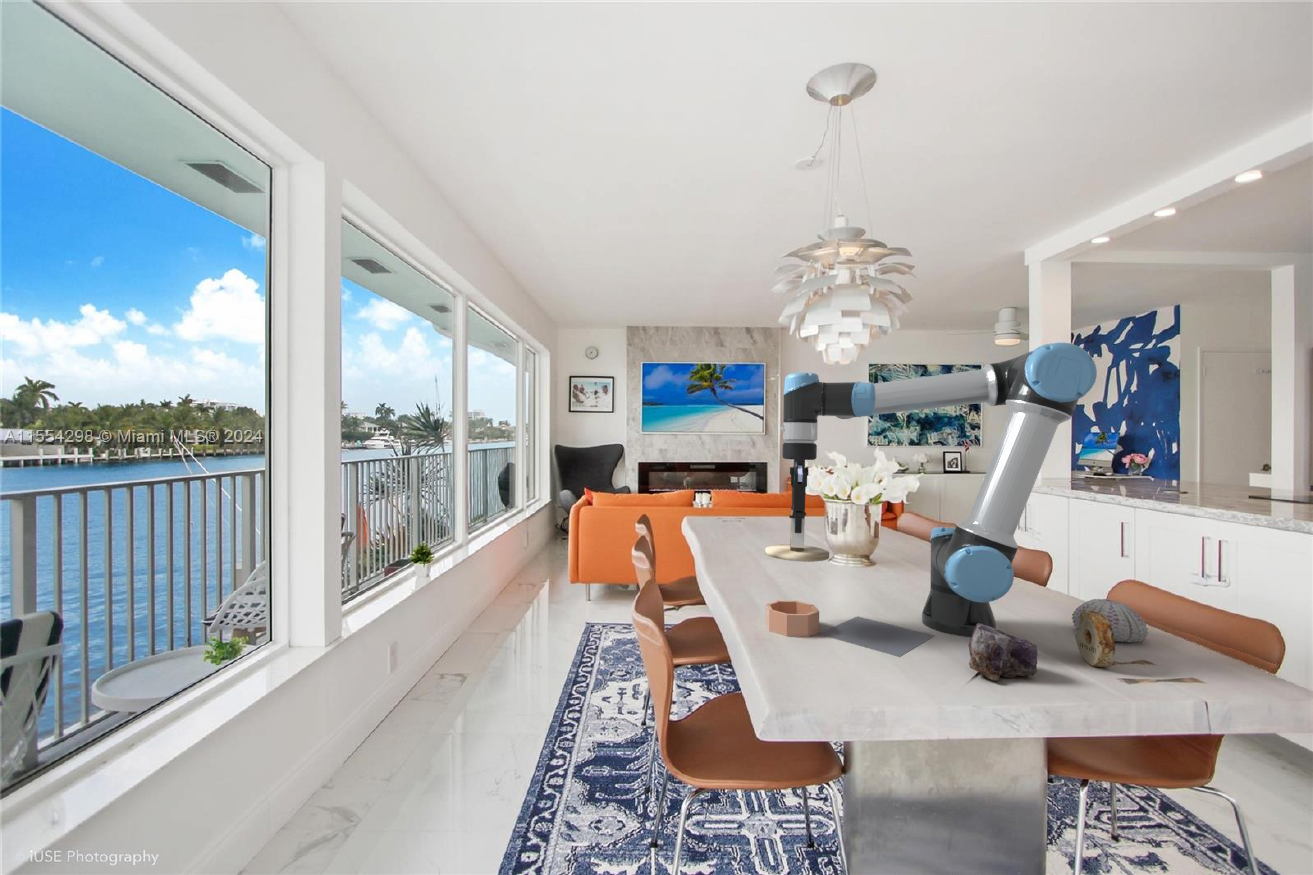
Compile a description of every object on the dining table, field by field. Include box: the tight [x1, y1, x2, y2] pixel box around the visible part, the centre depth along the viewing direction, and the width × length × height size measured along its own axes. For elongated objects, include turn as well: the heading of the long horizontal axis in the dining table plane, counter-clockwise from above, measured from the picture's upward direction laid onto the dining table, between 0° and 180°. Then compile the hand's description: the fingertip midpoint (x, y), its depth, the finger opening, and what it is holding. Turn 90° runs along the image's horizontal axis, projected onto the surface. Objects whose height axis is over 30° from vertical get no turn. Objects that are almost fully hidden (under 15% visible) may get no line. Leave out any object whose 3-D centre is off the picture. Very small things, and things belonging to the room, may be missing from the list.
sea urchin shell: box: [1071, 598, 1149, 643], centre depth 127 cm, size 13×14×8 cm
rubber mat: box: [817, 616, 936, 658], centre depth 125 cm, size 18×18×1 cm
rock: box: [968, 623, 1039, 682], centre depth 106 cm, size 12×9×10 cm
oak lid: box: [764, 509, 830, 563], centre depth 129 cm, size 14×14×10 cm
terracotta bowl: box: [765, 600, 820, 638], centre depth 129 cm, size 11×11×5 cm
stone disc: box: [1074, 611, 1116, 668], centre depth 111 cm, size 10×4×10 cm, turn 163°
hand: (797, 545), depth 129 cm, fingers closed on oak lid, 3 cm apart
